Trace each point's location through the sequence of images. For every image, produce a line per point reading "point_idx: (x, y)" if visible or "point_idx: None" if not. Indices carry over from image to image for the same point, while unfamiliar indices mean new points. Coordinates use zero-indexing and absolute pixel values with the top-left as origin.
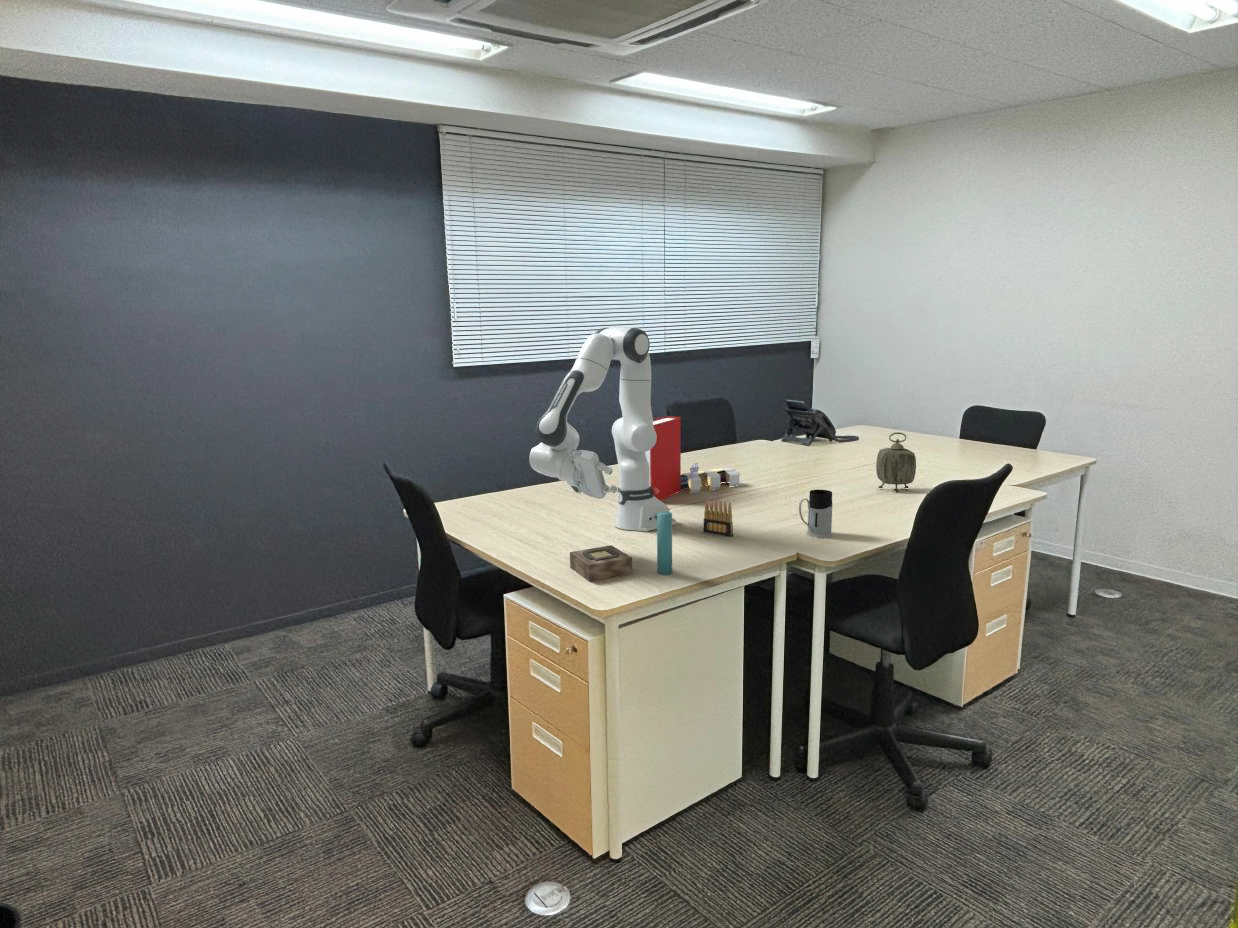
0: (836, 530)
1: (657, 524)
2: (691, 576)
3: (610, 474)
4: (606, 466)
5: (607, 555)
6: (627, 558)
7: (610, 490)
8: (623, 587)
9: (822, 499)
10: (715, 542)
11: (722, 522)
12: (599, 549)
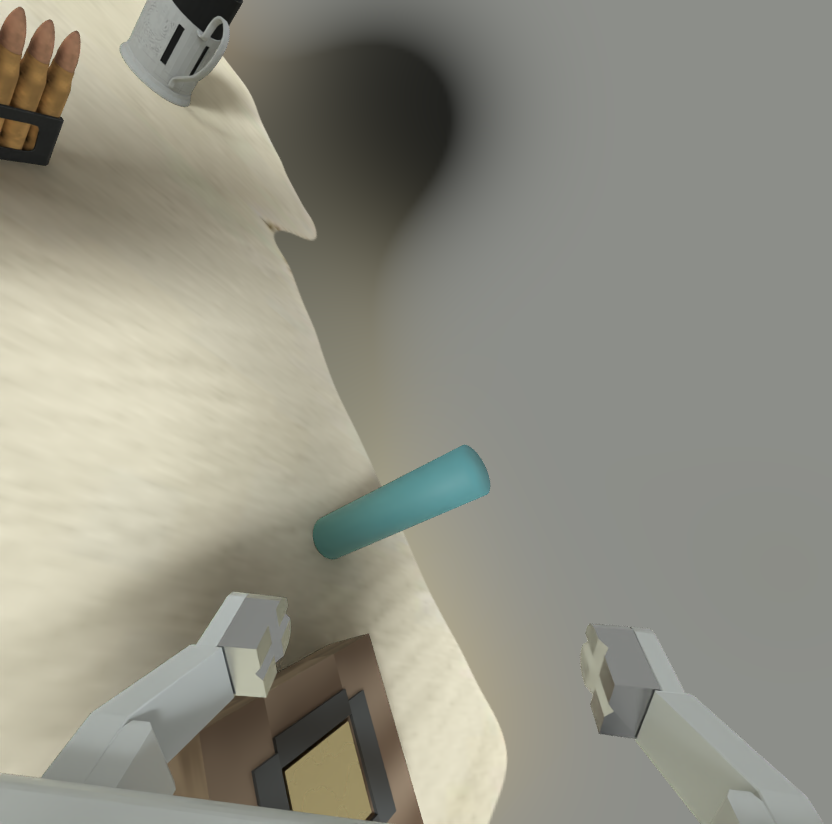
0: None
1: (452, 508)
2: (361, 486)
3: (581, 661)
4: (693, 705)
5: (345, 749)
6: (374, 654)
7: (249, 688)
8: (414, 688)
9: (233, 15)
10: (94, 246)
11: (22, 114)
12: None
